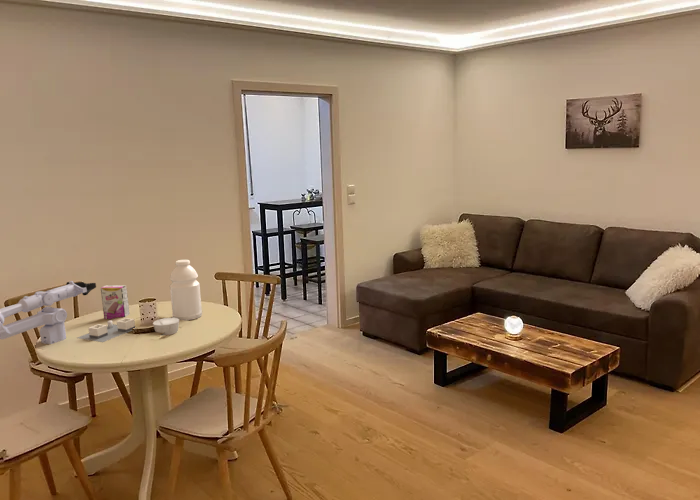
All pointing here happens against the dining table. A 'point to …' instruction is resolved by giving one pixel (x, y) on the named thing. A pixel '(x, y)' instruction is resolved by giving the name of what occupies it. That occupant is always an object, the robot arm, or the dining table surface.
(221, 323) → the dining table surface
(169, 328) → the ramekin
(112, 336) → the pin board
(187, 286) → the bottle
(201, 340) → the dining table surface
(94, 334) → the sleeve
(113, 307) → the candy bar box
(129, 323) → the seated sleeve
